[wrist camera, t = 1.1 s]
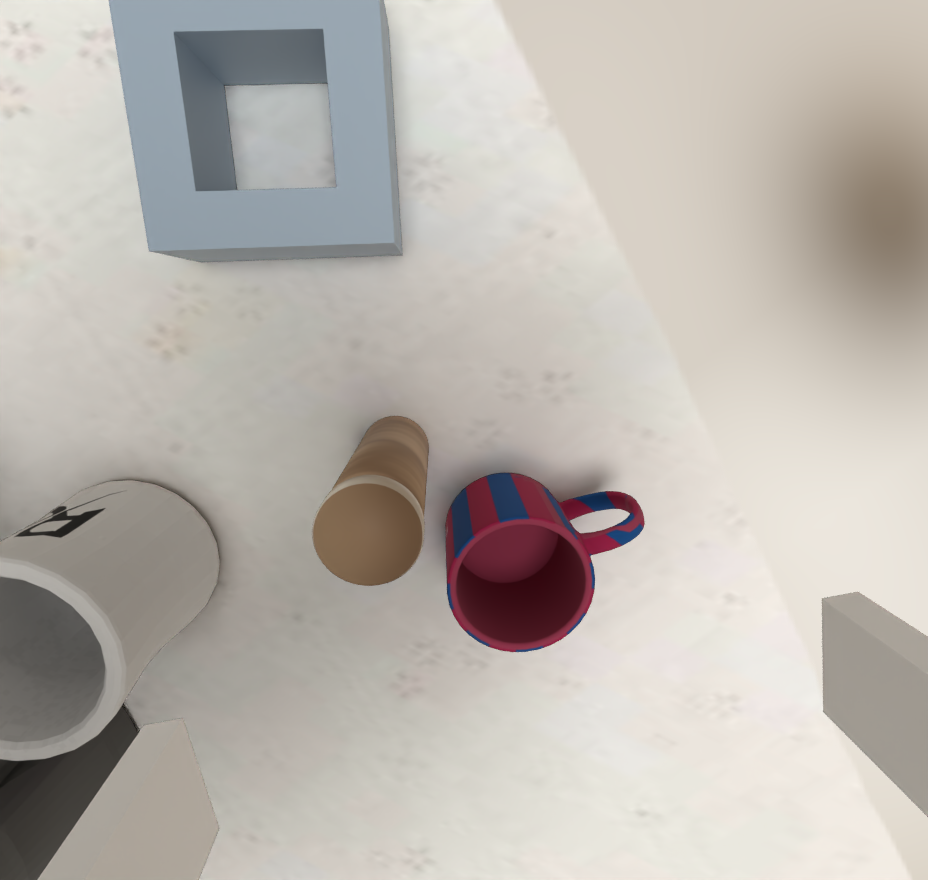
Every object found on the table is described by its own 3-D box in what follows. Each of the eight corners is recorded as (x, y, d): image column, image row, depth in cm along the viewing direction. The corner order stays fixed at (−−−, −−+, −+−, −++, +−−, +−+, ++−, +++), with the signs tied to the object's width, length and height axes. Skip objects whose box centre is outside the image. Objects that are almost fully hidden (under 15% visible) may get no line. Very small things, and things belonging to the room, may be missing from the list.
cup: (429, 493, 30) (426, 544, 24) (600, 437, 30) (646, 473, 24) (466, 596, 32) (473, 670, 25) (629, 544, 32) (680, 605, 25)
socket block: (200, 262, 27) (148, 251, 22) (168, 32, 25) (102, -36, 20) (402, 255, 28) (394, 242, 23) (388, 28, 25) (376, -41, 20)
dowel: (364, 482, 30) (317, 589, 18) (358, 416, 29) (305, 485, 18) (431, 479, 30) (426, 583, 19) (427, 413, 29) (420, 479, 18)
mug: (168, 447, 29) (33, 515, 20) (255, 586, 31) (172, 709, 22) (-29, 543, 30) (-254, 654, 20) (69, 673, 32) (-92, 830, 22)
